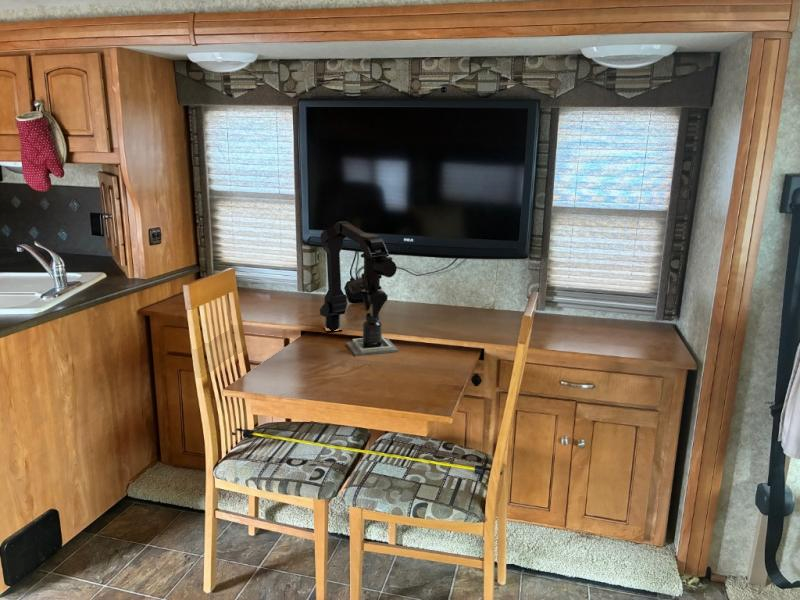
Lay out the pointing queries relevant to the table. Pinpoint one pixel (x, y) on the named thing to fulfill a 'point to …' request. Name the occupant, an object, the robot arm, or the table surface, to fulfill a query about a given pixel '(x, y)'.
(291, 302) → the table surface
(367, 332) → the supplement bottle
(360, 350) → the coaster tray
